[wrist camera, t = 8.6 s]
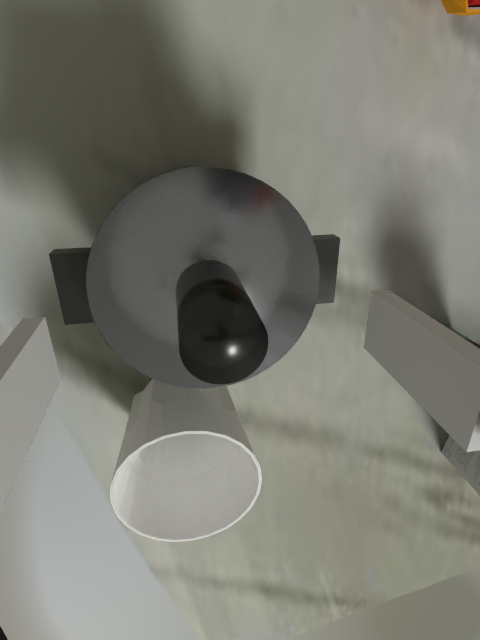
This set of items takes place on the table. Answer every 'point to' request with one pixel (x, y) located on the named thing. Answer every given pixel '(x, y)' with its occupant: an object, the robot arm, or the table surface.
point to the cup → (183, 464)
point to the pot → (75, 260)
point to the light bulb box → (464, 462)
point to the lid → (202, 277)
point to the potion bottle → (461, 6)
